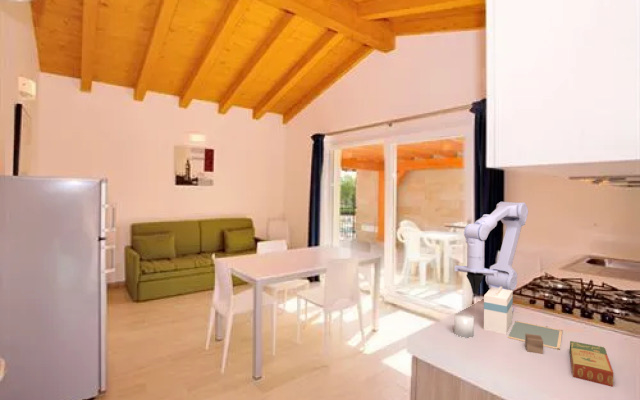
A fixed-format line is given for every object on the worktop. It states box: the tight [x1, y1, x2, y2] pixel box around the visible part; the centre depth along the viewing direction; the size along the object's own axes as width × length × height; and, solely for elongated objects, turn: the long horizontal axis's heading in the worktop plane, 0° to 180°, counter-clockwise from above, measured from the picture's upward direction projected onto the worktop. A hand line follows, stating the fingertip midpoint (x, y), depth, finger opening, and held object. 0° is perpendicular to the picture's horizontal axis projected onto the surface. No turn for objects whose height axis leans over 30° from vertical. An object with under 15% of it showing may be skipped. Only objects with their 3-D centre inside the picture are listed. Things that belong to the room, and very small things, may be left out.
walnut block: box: [524, 334, 544, 355], centre depth 104 cm, size 4×4×4 cm
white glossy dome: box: [453, 312, 475, 339], centre depth 115 cm, size 6×6×6 cm
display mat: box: [507, 320, 563, 351], centre depth 114 cm, size 17×14×1 cm
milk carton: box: [483, 286, 514, 335], centre depth 121 cm, size 12×7×13 cm, turn 143°
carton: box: [568, 340, 615, 388], centre depth 93 cm, size 8×16×4 cm, turn 146°
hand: (475, 293), depth 126 cm, fingers closed
